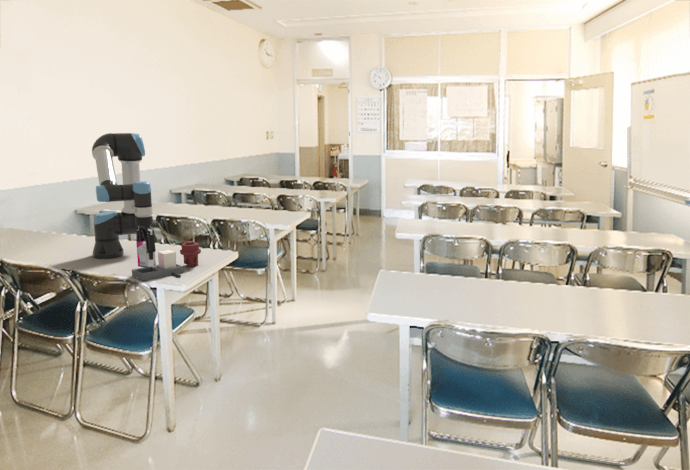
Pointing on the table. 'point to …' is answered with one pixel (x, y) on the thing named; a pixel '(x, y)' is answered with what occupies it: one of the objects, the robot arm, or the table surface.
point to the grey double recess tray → (160, 267)
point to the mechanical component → (190, 253)
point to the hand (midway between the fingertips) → (147, 264)
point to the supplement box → (143, 254)
